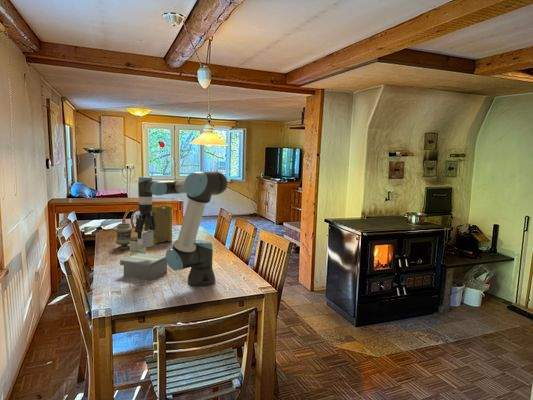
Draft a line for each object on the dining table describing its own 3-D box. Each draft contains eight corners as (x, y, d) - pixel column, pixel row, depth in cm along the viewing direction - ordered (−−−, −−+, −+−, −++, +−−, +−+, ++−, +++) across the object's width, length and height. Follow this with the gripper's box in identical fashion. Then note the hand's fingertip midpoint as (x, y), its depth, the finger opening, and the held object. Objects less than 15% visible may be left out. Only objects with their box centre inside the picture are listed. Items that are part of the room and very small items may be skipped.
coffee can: (131, 256, 243) (131, 236, 242) (147, 256, 245) (147, 236, 244) (128, 260, 233) (128, 239, 232) (144, 260, 235) (144, 239, 233)
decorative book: (166, 239, 297) (166, 203, 294) (173, 241, 289) (173, 205, 286) (143, 242, 283) (143, 205, 279) (150, 245, 275) (150, 206, 272)
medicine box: (149, 244, 211) (149, 230, 210) (153, 246, 208) (153, 231, 207) (137, 246, 205) (137, 232, 204) (141, 248, 202) (141, 233, 201)
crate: (166, 271, 214) (166, 258, 213) (150, 280, 198) (150, 266, 197) (141, 268, 219) (141, 255, 218) (123, 276, 203) (123, 262, 203)
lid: (166, 261, 213) (166, 256, 213) (149, 269, 198) (149, 263, 197) (138, 257, 219) (138, 252, 218) (119, 265, 203) (119, 259, 203)
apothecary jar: (113, 247, 265) (112, 223, 263) (129, 245, 273) (129, 222, 271) (118, 250, 256) (118, 226, 254) (135, 248, 264) (135, 224, 262)
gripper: (151, 201, 215) (151, 238, 218) (127, 205, 195) (127, 245, 197) (161, 202, 213) (161, 239, 216) (139, 206, 193) (139, 247, 195)
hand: (145, 242), depth 206 cm, fingers closed on medicine box, 9 cm apart
